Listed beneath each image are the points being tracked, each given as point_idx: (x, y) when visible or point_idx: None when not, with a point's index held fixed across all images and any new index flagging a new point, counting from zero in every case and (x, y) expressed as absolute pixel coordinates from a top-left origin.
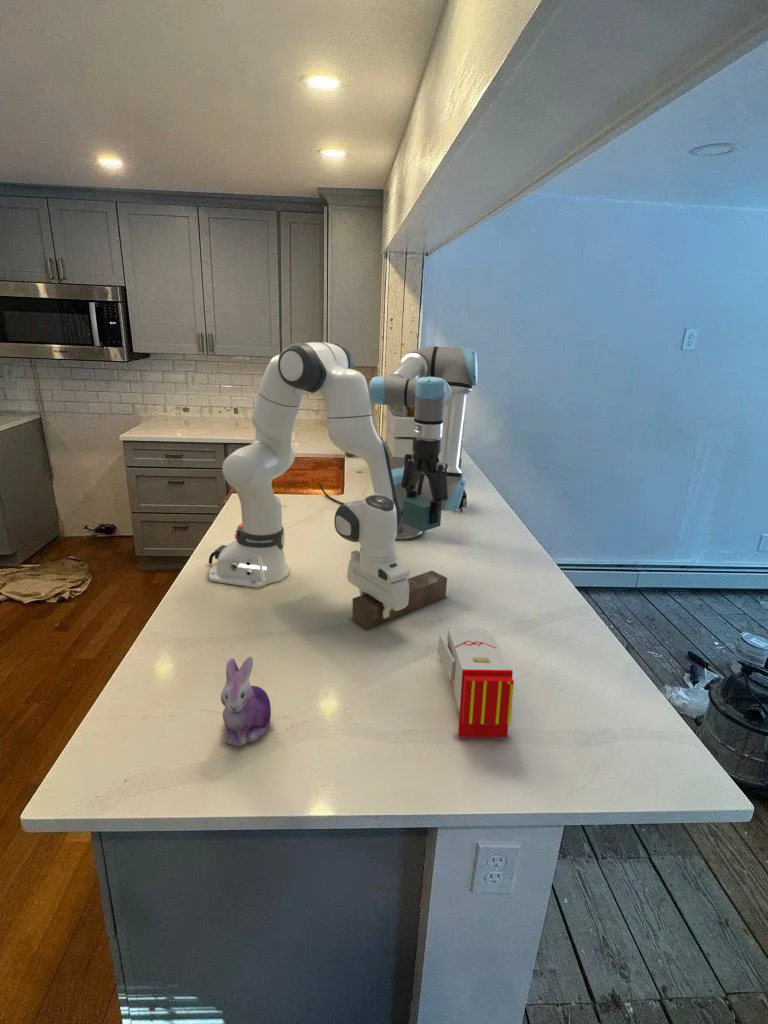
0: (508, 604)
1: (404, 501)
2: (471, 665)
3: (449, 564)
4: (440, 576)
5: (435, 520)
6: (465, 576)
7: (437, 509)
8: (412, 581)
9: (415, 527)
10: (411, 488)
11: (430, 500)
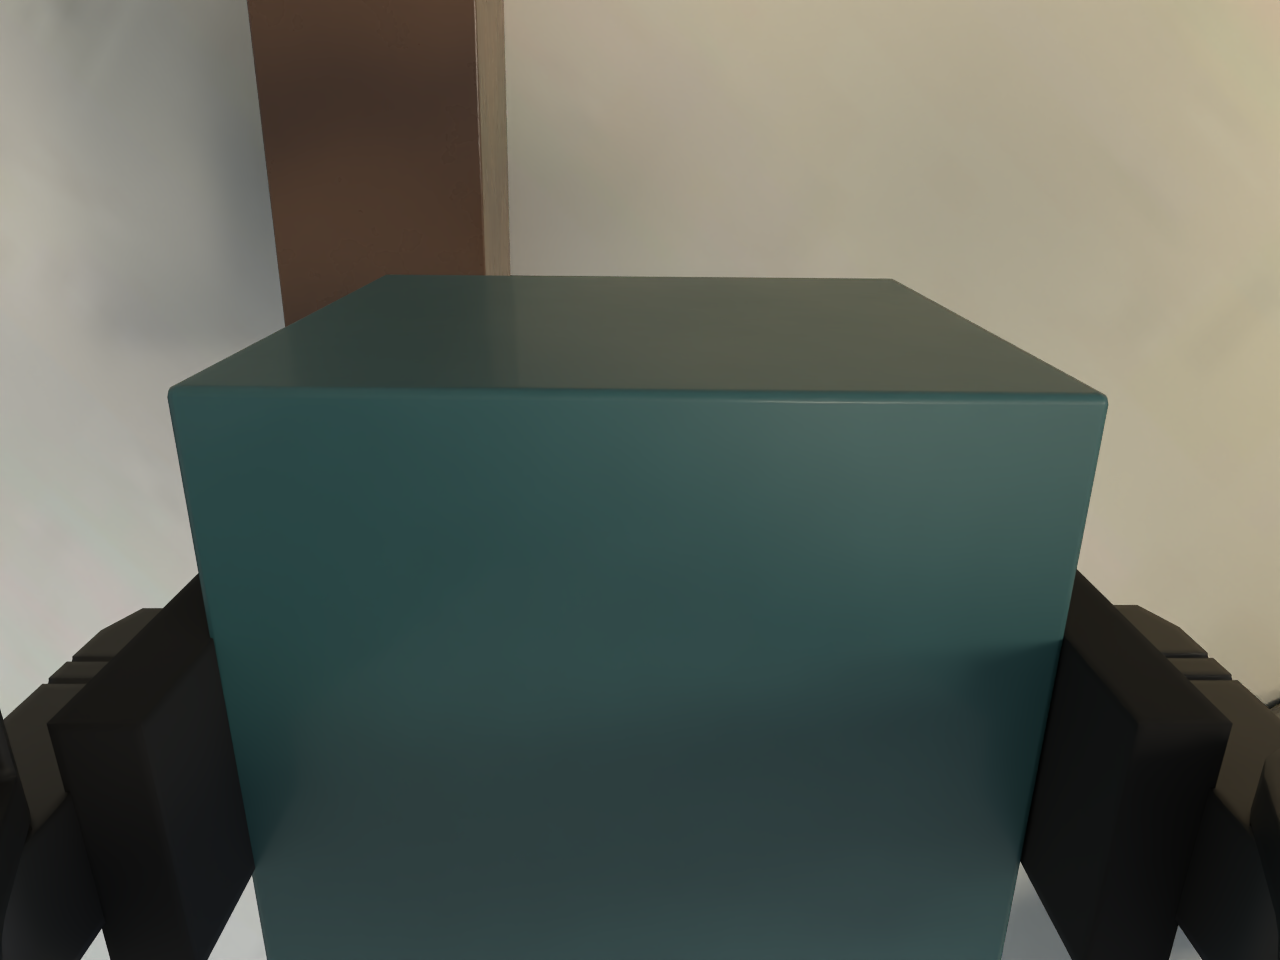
0: (49, 586)
1: (1035, 380)
2: None
3: None
4: None
5: None
6: None
7: (66, 678)
8: (401, 14)
9: (555, 279)
10: (1269, 945)
11: (536, 898)
